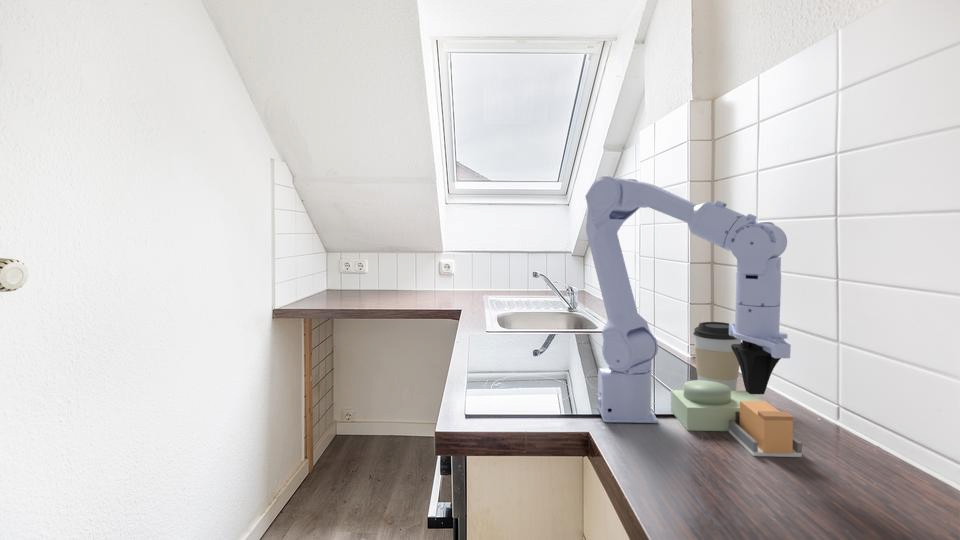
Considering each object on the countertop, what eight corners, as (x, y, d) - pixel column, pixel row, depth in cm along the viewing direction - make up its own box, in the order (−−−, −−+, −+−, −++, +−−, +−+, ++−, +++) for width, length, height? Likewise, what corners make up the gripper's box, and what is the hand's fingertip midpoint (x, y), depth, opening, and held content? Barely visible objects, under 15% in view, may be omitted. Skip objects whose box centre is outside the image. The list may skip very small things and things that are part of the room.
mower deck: (707, 455, 70) (707, 416, 70) (670, 410, 88) (671, 379, 87) (805, 457, 68) (806, 417, 68) (748, 411, 86) (749, 380, 86)
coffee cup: (730, 387, 100) (730, 318, 99) (750, 402, 91) (751, 327, 90) (686, 387, 101) (686, 319, 100) (702, 401, 92) (702, 327, 91)
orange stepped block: (763, 452, 69) (764, 416, 68) (739, 430, 77) (739, 397, 76) (792, 453, 68) (793, 416, 68) (764, 430, 76) (765, 397, 76)
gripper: (816, 312, 61) (812, 411, 62) (761, 296, 76) (759, 378, 77) (759, 312, 62) (757, 410, 63) (716, 297, 76) (714, 377, 77)
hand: (754, 392), depth 70 cm, fingers closed
